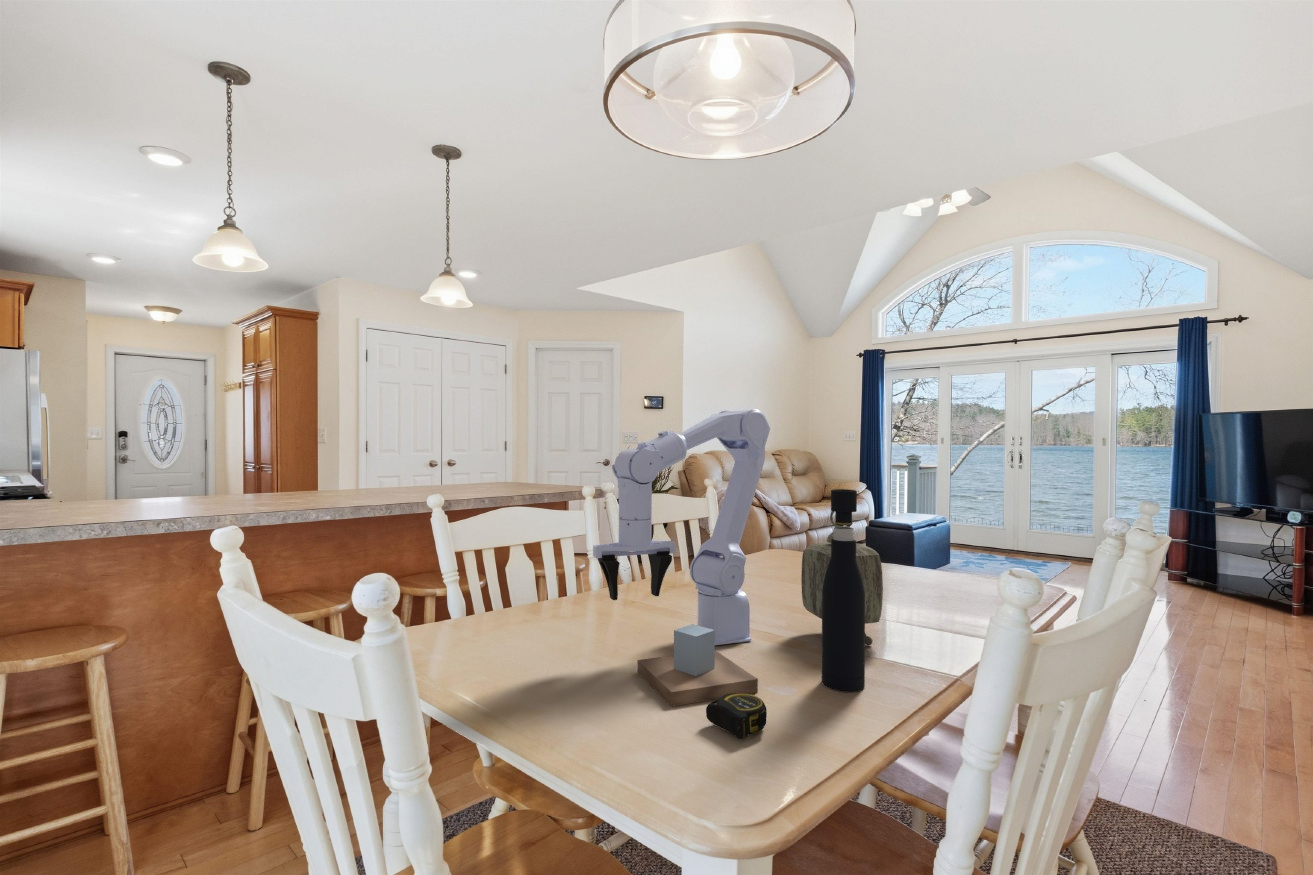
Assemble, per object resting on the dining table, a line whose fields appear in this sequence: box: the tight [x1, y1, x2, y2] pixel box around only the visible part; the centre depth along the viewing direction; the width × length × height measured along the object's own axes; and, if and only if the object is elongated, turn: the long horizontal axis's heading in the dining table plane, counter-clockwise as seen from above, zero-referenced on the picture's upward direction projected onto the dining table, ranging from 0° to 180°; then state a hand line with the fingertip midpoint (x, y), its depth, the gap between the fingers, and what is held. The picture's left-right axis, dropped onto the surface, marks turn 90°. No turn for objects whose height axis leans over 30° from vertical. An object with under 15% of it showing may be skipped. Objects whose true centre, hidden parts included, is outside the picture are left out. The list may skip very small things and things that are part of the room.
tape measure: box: [705, 693, 768, 740], centre depth 82 cm, size 7×7×4 cm
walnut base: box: [636, 649, 759, 707], centre depth 98 cm, size 14×14×2 cm
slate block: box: [673, 624, 716, 676], centre depth 98 cm, size 4×4×6 cm
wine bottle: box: [821, 488, 866, 693], centre depth 98 cm, size 6×6×30 cm
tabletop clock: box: [800, 510, 884, 646], centre depth 121 cm, size 14×9×25 cm, turn 17°
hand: (634, 596), depth 109 cm, fingers open, 7 cm apart
